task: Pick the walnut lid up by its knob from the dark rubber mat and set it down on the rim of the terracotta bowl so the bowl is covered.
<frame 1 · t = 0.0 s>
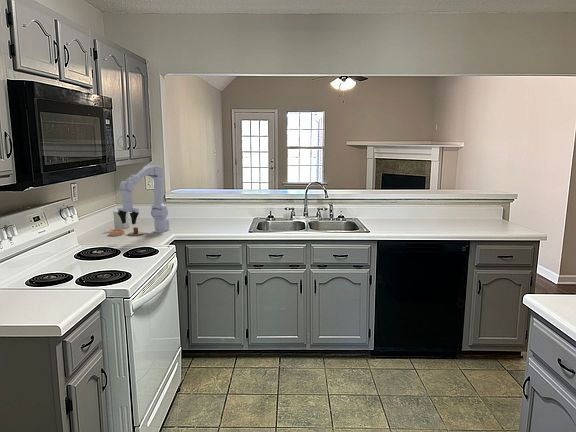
hand: (128, 223, 267), 10 cm above the worktop, tool pointing down, fingers open, 7 cm apart
bowl: (117, 235, 285), on the worktop
mat: (137, 234, 284), on the worktop
lid: (136, 234, 283), resting on mat
supplement box: (122, 228, 306), on the worktop
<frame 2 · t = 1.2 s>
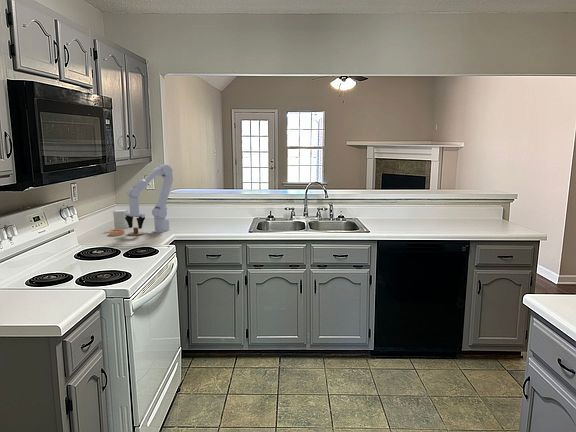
hand: (135, 228, 283), 5 cm above the worktop, tool pointing down, fingers open, 7 cm apart
nothing on the worktop moved.
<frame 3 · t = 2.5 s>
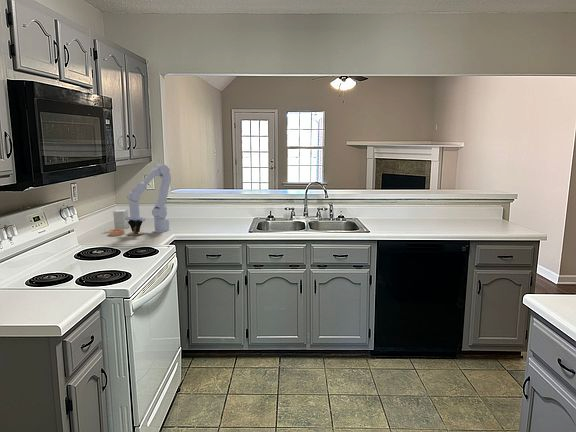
hand: (135, 231, 283), 2 cm above the worktop, tool pointing down, fingers closed on lid, 3 cm apart
lid: (136, 234, 283), resting on mat, touching gripper
everything else where it was.
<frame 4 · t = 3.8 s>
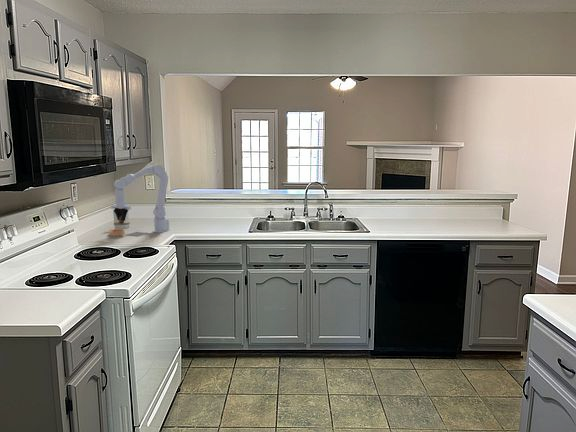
hand: (121, 220, 283), 10 cm above the worktop, tool pointing down, fingers closed on lid, 3 cm apart
lid: (121, 223, 283), point 7 cm above the worktop, touching gripper
everything else where it was.
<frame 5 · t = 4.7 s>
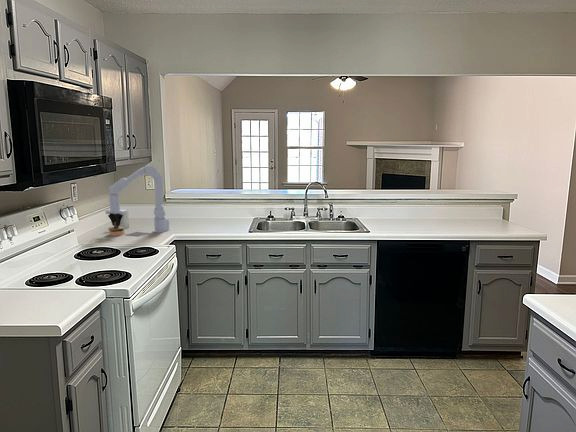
hand: (116, 225, 284), 6 cm above the worktop, tool pointing down, fingers closed on lid, 3 cm apart
lid: (116, 229, 284), point 4 cm above the worktop, touching gripper
everything else where it was.
when the fingers open (6 cm above the worktop, at t = 5.3 s): lid stays where it is, resting on bowl.
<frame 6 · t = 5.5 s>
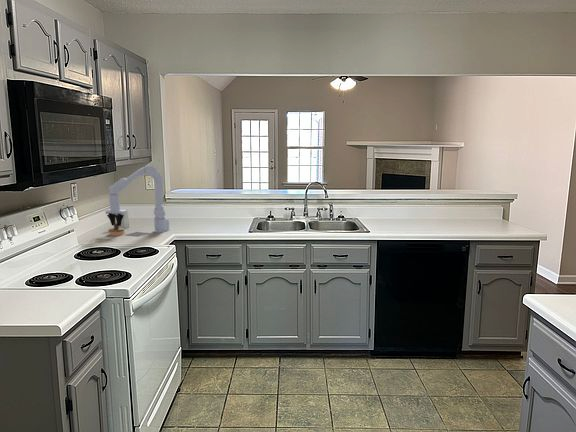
hand: (116, 225, 284), 6 cm above the worktop, tool pointing down, fingers open, 4 cm apart
lid: (116, 230, 284), point 3 cm above the worktop, touching bowl
everything else where it was.
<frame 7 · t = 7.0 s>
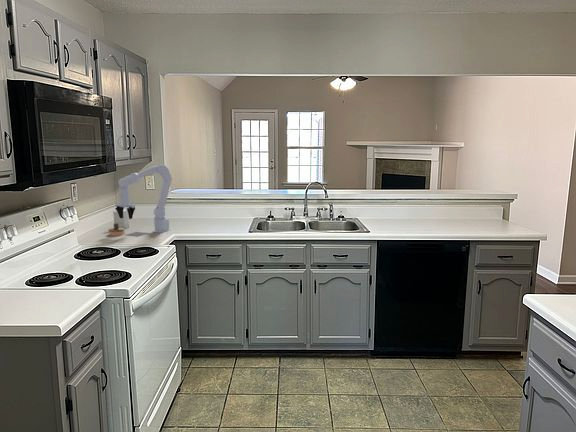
hand: (126, 218, 285), 10 cm above the worktop, tool pointing down, fingers open, 7 cm apart
nothing on the worktop moved.
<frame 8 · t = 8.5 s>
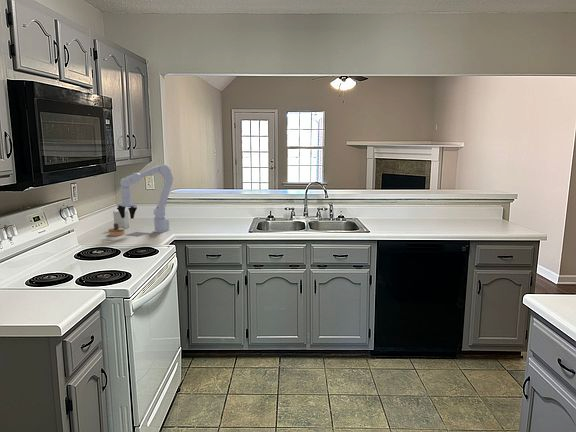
hand: (127, 218, 285), 10 cm above the worktop, tool pointing down, fingers open, 7 cm apart
nothing on the worktop moved.
at the end: lid 0.1 cm off-centre on the bowl, point 3.0 cm above the bowl's base; lid tilted 0°; the gripper is holding nothing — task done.
